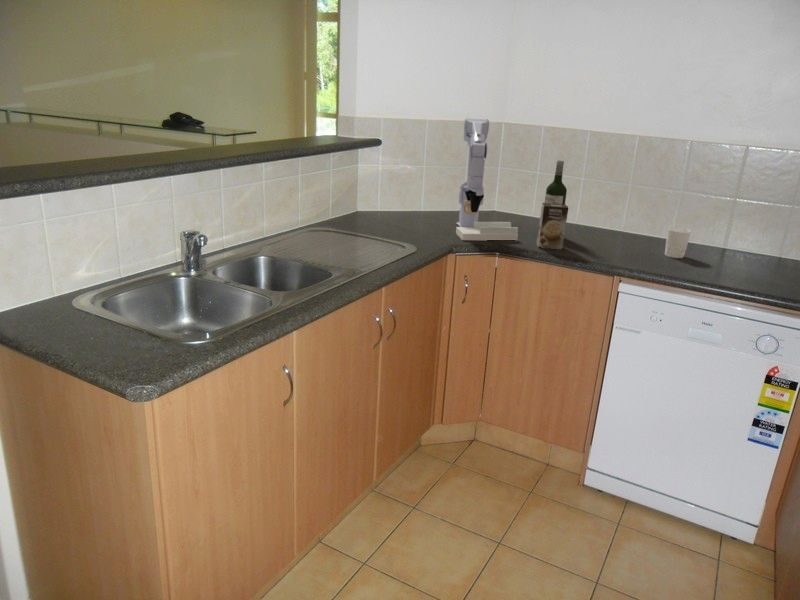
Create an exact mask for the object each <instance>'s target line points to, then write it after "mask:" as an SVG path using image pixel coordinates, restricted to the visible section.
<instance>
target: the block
mask: <svg viewBox="0 0 800 600" xmlns="http://www.w3.org/2000/svg"><path fill="white" fill-rule="evenodd" d="M464 212H465V213H466V214H478V215H479V213H478V211H477V212H471V201H470V200H465V202H464Z"/></svg>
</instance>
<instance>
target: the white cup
mask: <svg viewBox="0 0 800 600" xmlns="http://www.w3.org/2000/svg"><path fill="white" fill-rule="evenodd" d="M691 232H692V231H691V230H690V229H688V228H683V227H675V226H673V227H672V226H671V227H668V228H667V233H666V239H665V250H664V255H665V256H666V257H668V258H672V259H673V258H674V259H683V258H684V257H685V253H686V250H687V247H688V243H689V240H690V236H691V234H692V233H691Z"/></svg>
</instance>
